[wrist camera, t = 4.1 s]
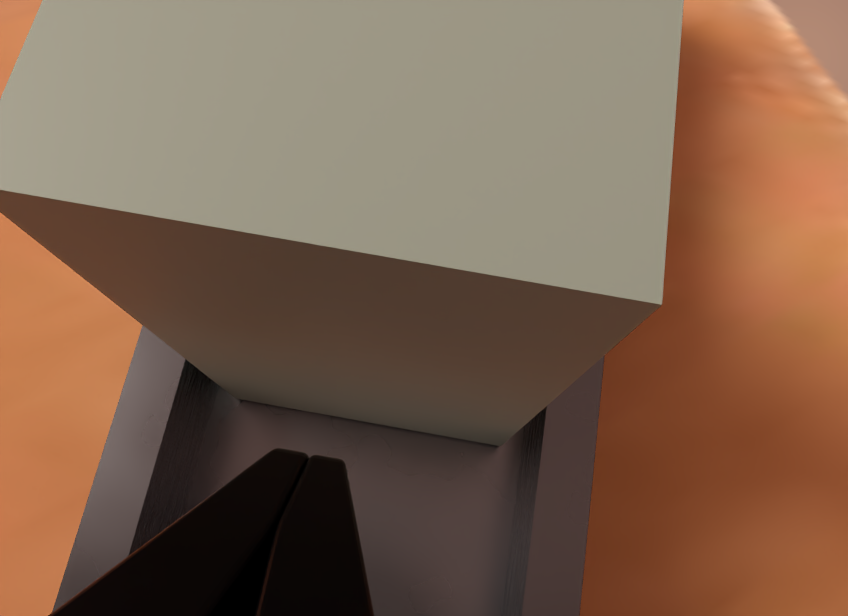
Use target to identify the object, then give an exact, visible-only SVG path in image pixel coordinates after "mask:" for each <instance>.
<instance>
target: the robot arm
mask: <svg viewBox="0 0 848 616" xmlns="http://www.w3.org/2000/svg"><path fill="white" fill-rule="evenodd" d="M48 616H374V611H373V606H372V601H371V595H370V590H369V585H368V580H367V574H366V569H365V564H364V558H363V553H362V548H361V543H360V537H359V532H358V527H357V521H356V516H355V511H354V506H353V500H352V495H351V490H350V484H349V479H348V474H347V469H346V464H345V462H344V461H343V460H342V459H338V458H333V457H327V456H322V455H312V456H311V457H310V458H309V456H308V455H307V454H306V453H304V452H300V451H294V450H289V449H283V448H275V449H273V450H271V451H270V452H268V453H267V454H265V455H264V456H263V457H261V458H260V459H259V460H257V461H256V462H255V463H253V464H252V465H251V466H249V467H248V468H247V469H245V470H244V471H243V472H241V473H240V474H239V475H237V476H236V477H234V478H233V479H232V480H230V481H229V482H228V483H226V484H225V485H224V486H222V487H221V488H220V489H218V490H217V491H216V492H214V493H213V494H212V495H210V496H209V497H208V498H206V499H205V500H203V501H202V502H201V503H199V504H198V505H197V506H195V507H194V508H193V509H191V510H190V511H189V512H187V513H186V514H185V515H183V516H182V517H181V518H179V519H178V520H176V521H175V522H174V523H172V524H171V525H170V526H168V527H167V528H166V529H164V530H163V531H162V532H160V533H159V534H158V535H156V536H155V537H154V538H152V539H151V540H150V541H148V542H147V543H145V544H144V545H143V546H141V547H140V548H139V549H137V550H136V551H135V552H133V553H132V554H131V555H129V556H128V557H127V558H125V559H124V560H123V561H121V562H120V563H118V564H117V565H116V566H114V567H113V568H112V569H110V570H109V571H108V572H106V573H105V574H104V575H102V576H101V577H100V578H98V579H97V580H96V581H94V582H93V583H92V584H90V585H89V586H87V587H86V588H85V589H83V590H82V591H81V592H79V593H78V594H77V595H75V596H74V597H73V598H71V599H70V600H69V601H67V602H66V603H65V604H63V605H62V606H60V607H59V608H58V609H56V610H55V611H54V612H52V613H51V614H50V615H48Z"/></svg>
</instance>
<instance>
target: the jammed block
mask: <svg viewBox="0 0 848 616" xmlns="http://www.w3.org/2000/svg"><path fill="white" fill-rule="evenodd" d="M683 3H684V0H43V1H42V3H41V5H40V8H39V10H38V12H37V15H36V17H35V19H34V22H33V24H32V26H31V29H30V31H29V33H28V36H27V38H26V40H25V43H24V45H23V47H22V50H21V52H20V54H19V57H18V59H17V61H16V64H15V66H14V68H13V71H12V73H11V75H10V78H9V80H8V82H7V85H6V87H5V89H4V92H3V94H2V96H1V99H0V212H1V213H2V214H3V215H5V216H6V217H7V218H8V219H10V220H11V221H12V222H13V223H15V224H16V225H17V226H18V227H20V228H21V229H22V230H23V231H25V232H26V233H27V234H29V235H30V236H31V237H32V238H34V239H35V240H36V241H37V242H39V243H40V244H41V245H42V246H44V247H45V248H46V249H47V250H49V251H50V252H51V253H52V254H54V255H55V256H56V257H58V258H59V259H60V260H61V261H63V262H64V263H65V264H66V265H68V266H69V267H70V268H71V269H73V270H74V271H75V272H76V273H78V274H79V275H80V276H81V277H83V278H84V279H85V280H87V281H88V282H89V283H90V284H92V285H93V286H94V287H95V288H97V289H98V290H99V291H100V292H102V293H103V294H104V295H105V296H107V297H108V298H109V299H111V300H112V301H113V302H114V303H116V304H117V305H118V306H119V307H121V308H122V309H123V310H124V311H126V312H127V313H128V314H129V315H131V316H132V317H133V318H134V319H136V320H137V321H138V322H140V323H141V324H142V325H143V326H145V327H146V328H147V329H148V330H150V331H151V332H152V333H153V334H155V335H156V336H157V337H158V338H160V339H161V340H162V341H163V342H165V343H166V344H167V345H169V346H170V347H171V348H172V349H174V350H175V351H176V352H177V353H179V354H180V355H181V356H182V357H184V358H185V359H186V360H187V361H189V362H190V363H191V364H192V365H194V366H195V367H196V368H198V369H199V370H200V371H201V372H203V373H204V374H205V375H206V376H208V377H209V378H210V379H211V380H213V381H214V382H215V383H216V384H218V385H219V386H220V387H221V388H223V389H224V390H225V391H227V392H228V393H229V394H230V395H232V396H233V397H234V398H236V399H242V400H247V401H253V402H258V403H264V404H269V405H275V406H281V407H286V408H292V409H297V410H303V411H308V412H314V413H319V414H325V415H330V416H336V417H342V418H347V419H353V420H358V421H364V422H369V423H375V424H380V425H386V426H391V427H397V428H403V429H408V430H414V431H419V432H425V433H430V434H436V435H441V436H447V437H452V438H458V439H464V440H469V441H475V442H480V443H486V444H491V445H497V446H502V445H503V444H504V443H505V442H506V441H507V440H508V439H510V438H511V437H512V436H513V435H514V434H515V433H516V432H518V431H519V430H520V429H521V428H522V427H523V426H524V425H526V424H527V423H528V422H529V421H530V420H531V419H532V418H534V417H535V416H536V415H537V414H538V413H539V412H540V411H542V410H543V409H544V408H545V407H546V406H547V405H548V404H549V403H551V402H552V401H553V400H554V399H555V398H556V397H557V396H559V395H560V394H561V393H562V392H563V391H564V390H565V389H567V388H568V387H569V386H570V385H571V384H572V383H573V382H575V381H576V380H577V379H578V378H579V377H580V376H581V375H583V374H584V373H585V372H586V371H587V370H588V369H589V368H591V367H592V366H593V365H594V364H595V363H596V362H597V361H598V360H600V359H601V358H602V357H603V356H604V355H605V354H606V353H608V352H609V351H610V350H611V349H612V348H613V347H614V346H616V345H617V344H618V343H619V342H620V341H621V340H622V339H624V338H625V337H626V336H627V335H628V334H629V333H630V332H632V331H633V330H634V329H635V328H636V327H637V326H638V325H640V324H641V323H642V322H643V321H644V320H645V319H646V318H647V317H649V316H650V315H651V314H652V313H653V312H654V311H655V310H657V309H658V308H659V307H660V306H661V305H662V299H663V285H664V271H665V256H666V242H667V228H668V214H669V200H670V186H671V172H672V158H673V144H674V130H675V116H676V102H677V88H678V74H679V60H680V45H681V31H682V17H683Z"/></svg>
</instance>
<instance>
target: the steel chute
mask: <svg viewBox="0 0 848 616" xmlns="http://www.w3.org/2000/svg"><path fill="white" fill-rule="evenodd" d="M603 366H604V356H603V357H602V358H601V359H600V360H598V361H597V362H596V363H595V364H594V365H593V366H592V367H591V368H589V369H588V370H587V371H586V372H585V373H584V374H583V375H581V376H580V377H579V378H578V379H577V380H576V381H575V382H573V383H572V384H571V385H570V386H569V387H568V388H567V389H565V390H564V391H563V392H562V393H561V394H560V395H559V396H557V397H556V398H555V399H554V400H553V401H552V402H551V403H549V404H548V405H547V406H546V407H545V408H544V409H543V410H542V411H540V412H539V413H538V414H537V415H536V416H535V417H534V418H532V419H531V420H530V421H529V422H528V423H527V424H526V425H524V426H523V427H522V428H521V429H520V430H519V431H518V432H516V433H515V434H514V435H513V436H512V437H511V438H510V439H508V440H507V441H506V442H505V443H504V444H503V445H502V446H497V445H491V444H486V443H480V442H475V441H469V440H464V439H458V438H452V437H447V436H441V435H436V434H430V433H425V432H419V431H414V430H408V429H403V428H397V427H391V426H386V425H380V424H375V423H369V422H364V421H358V420H353V419H347V418H342V417H336V416H330V415H325V414H319V413H314V412H308V411H303V410H297V409H292V408H286V407H281V406H275V405H269V404H264V403H258V402H253V401H247V400H242V399H236V398H234V397H233V396H232V395H230V394H229V393H228V392H227V391H225V390H224V389H223V388H221V387H220V386H219V385H218V384H216V383H215V382H214V381H213V380H211V379H210V378H209V377H208V376H206V375H205V374H204V373H203V372H201V371H200V370H199V369H198V368H196V367H195V366H194V365H192V364H191V363H190V362H189V361H187V360H186V359H185V358H184V357H182V356H181V355H180V354H179V353H177V352H176V351H175V350H174V349H172V348H171V347H170V346H169V345H167V344H166V343H165V342H163V341H162V340H161V339H160V338H158V337H157V336H156V335H155V334H153V333H152V332H151V331H150V330H148V329H147V328H146V327H145V326H142V329H141V332H140V336H139V339H138V342H137V345H136V348H135V351H134V355H133V358H132V361H131V364H130V367H129V370H128V374H127V377H126V380H125V383H124V386H123V389H122V393H121V396H120V399H119V402H118V405H117V408H116V412H115V415H114V418H113V421H112V424H111V427H110V431H109V434H108V437H107V440H106V443H105V447H104V450H103V453H102V456H101V459H100V462H99V466H98V469H97V472H96V475H95V478H94V481H93V485H92V488H91V491H90V494H89V497H88V500H87V504H86V507H85V510H84V513H83V516H82V519H81V523H80V526H79V529H78V532H77V535H76V538H75V542H74V545H73V548H72V551H71V554H70V557H69V561H68V564H67V567H66V570H65V573H64V576H63V580H62V583H61V586H60V589H59V592H58V595H57V599H56V602H55V605H54V608H53V611H52V612H54V611H55V610H56V609H58V608H59V607H60V606H62V605H63V604H65V603H66V602H67V601H69V600H70V599H71V598H73V597H74V596H75V595H77V594H78V593H79V592H81V591H82V590H83V589H85V588H86V587H87V586H89V585H90V584H92V583H93V582H94V581H96V580H97V579H98V578H100V577H101V576H102V575H104V574H105V573H106V572H108V571H109V570H110V569H112V568H113V567H114V566H116V565H117V564H118V563H120V562H121V561H123V560H124V559H125V558H127V557H128V556H129V555H131V554H132V553H133V552H135V551H136V550H137V549H139V548H140V547H141V546H143V545H144V544H145V543H147V542H148V541H150V540H151V539H152V538H154V537H155V536H156V535H158V534H159V533H160V532H162V531H163V530H164V529H166V528H167V527H168V526H170V525H171V524H172V523H174V522H175V521H176V520H178V519H179V518H181V517H182V516H183V515H185V514H186V513H187V512H189V511H190V510H191V509H193V508H194V507H195V506H197V505H198V504H199V503H201V502H202V501H203V500H205V499H206V498H208V497H209V496H210V495H212V494H213V493H214V492H216V491H217V490H218V489H220V488H221V487H222V486H224V485H225V484H226V483H228V482H229V481H230V480H232V479H233V478H234V477H236V476H237V475H239V474H240V473H241V472H243V471H244V470H245V469H247V468H248V467H249V466H251V465H252V464H253V463H255V462H256V461H257V460H259V459H260V458H261V457H263V456H264V455H265V454H267V453H268V452H270V451H271V450H273V449H275V448H283V449H289V450H294V451H300V452H304V453H306V454H307V455H308V456H309V458H310V457H311V456H312V455H322V456H327V457H333V458H338V459H342V460H343V461H344V462H345V464H346V469H347V474H348V479H349V484H350V490H351V495H352V500H353V506H354V511H355V516H356V521H357V527H358V532H359V537H360V543H361V548H362V553H363V558H364V564H365V569H366V574H367V580H368V585H369V590H370V595H371V601H372V606H373V611H374V616H579V615H580V605H581V594H582V584H583V573H584V563H585V553H586V542H587V532H588V521H589V511H590V501H591V490H592V480H593V469H594V459H595V449H596V438H597V428H598V418H599V407H600V397H601V386H602V376H603Z"/></svg>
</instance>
